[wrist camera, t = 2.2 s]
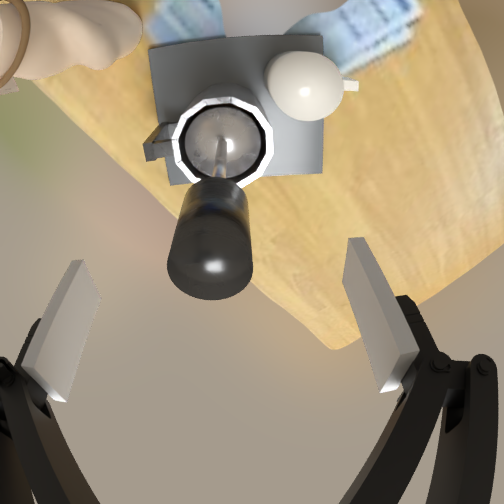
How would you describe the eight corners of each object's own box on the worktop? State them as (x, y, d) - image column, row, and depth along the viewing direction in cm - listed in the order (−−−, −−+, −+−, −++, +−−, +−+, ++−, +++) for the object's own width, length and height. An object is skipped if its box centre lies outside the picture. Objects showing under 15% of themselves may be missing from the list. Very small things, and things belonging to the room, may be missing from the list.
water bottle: (109, 84, 35) (-34, 162, 12) (69, 49, 30) (-90, 95, 8) (161, 29, 31) (39, 18, 9) (117, -7, 27) (-31, -38, 4)
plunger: (181, 111, 28) (112, 209, 12) (257, 103, 28) (290, 191, 12) (191, 178, 32) (155, 324, 17) (262, 171, 32) (288, 316, 17)
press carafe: (160, 92, 35) (133, 110, 26) (260, 80, 35) (270, 93, 26) (171, 158, 41) (151, 197, 32) (264, 148, 41) (274, 186, 32)
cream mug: (261, 51, 33) (269, 52, 26) (339, 52, 33) (365, 55, 26) (265, 106, 38) (272, 122, 30) (339, 105, 38) (363, 121, 30)
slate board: (149, 49, 32) (147, 49, 32) (320, 35, 32) (322, 35, 32) (171, 182, 45) (170, 185, 44) (320, 170, 45) (322, 173, 44)
